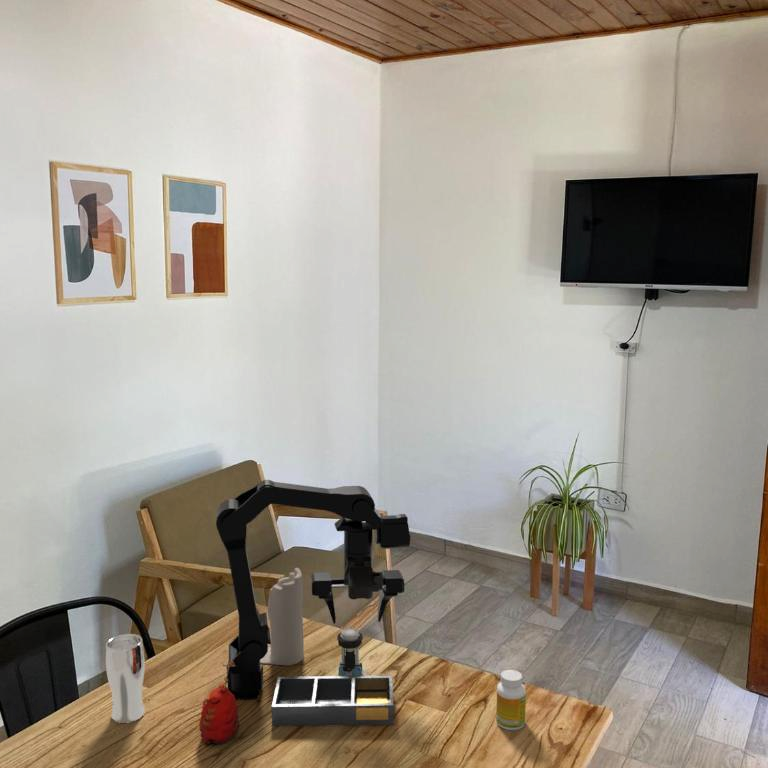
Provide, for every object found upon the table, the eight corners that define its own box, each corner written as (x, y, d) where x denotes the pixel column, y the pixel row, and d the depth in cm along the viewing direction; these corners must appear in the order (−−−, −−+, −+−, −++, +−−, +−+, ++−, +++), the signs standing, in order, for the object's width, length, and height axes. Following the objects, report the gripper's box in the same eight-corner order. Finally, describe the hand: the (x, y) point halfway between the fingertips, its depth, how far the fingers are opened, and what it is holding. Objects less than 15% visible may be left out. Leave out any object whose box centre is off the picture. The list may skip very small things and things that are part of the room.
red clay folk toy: (206, 723, 148) (203, 649, 146) (243, 724, 148) (241, 649, 145) (196, 748, 140) (192, 670, 138) (235, 748, 140) (232, 671, 138)
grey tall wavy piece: (247, 646, 177) (244, 562, 174) (307, 650, 175) (305, 565, 172) (237, 662, 170) (234, 575, 167) (299, 666, 168) (297, 578, 165)
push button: (371, 671, 166) (371, 627, 165) (367, 684, 161) (366, 639, 160) (340, 669, 167) (339, 625, 166) (335, 682, 162) (334, 637, 161)
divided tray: (271, 727, 147) (271, 707, 146) (278, 695, 157) (278, 676, 157) (393, 725, 147) (393, 706, 146) (391, 694, 158) (392, 675, 157)
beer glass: (154, 709, 152) (151, 637, 150) (129, 729, 146) (125, 654, 144) (127, 701, 155) (123, 630, 153) (101, 720, 149) (96, 646, 147)
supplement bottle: (524, 732, 145) (526, 684, 143) (495, 729, 146) (496, 681, 144) (525, 716, 150) (526, 669, 149) (496, 713, 151) (497, 666, 150)
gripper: (313, 566, 150) (312, 642, 152) (409, 563, 152) (407, 638, 155) (311, 545, 161) (310, 616, 163) (401, 543, 163) (399, 613, 165)
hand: (356, 621), depth 161 cm, fingers open, 9 cm apart
